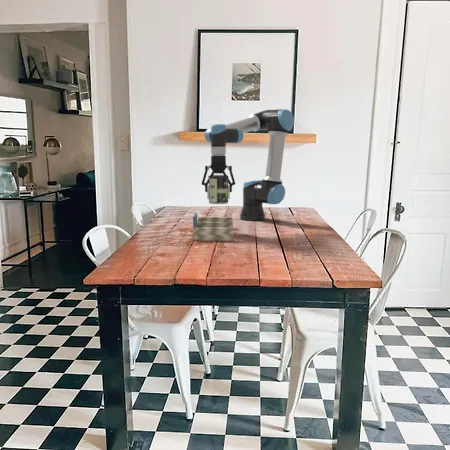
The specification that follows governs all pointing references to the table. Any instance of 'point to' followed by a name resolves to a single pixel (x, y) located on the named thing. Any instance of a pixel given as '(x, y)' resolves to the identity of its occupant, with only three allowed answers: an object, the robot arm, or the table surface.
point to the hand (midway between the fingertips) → (218, 198)
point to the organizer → (212, 228)
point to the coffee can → (218, 189)
